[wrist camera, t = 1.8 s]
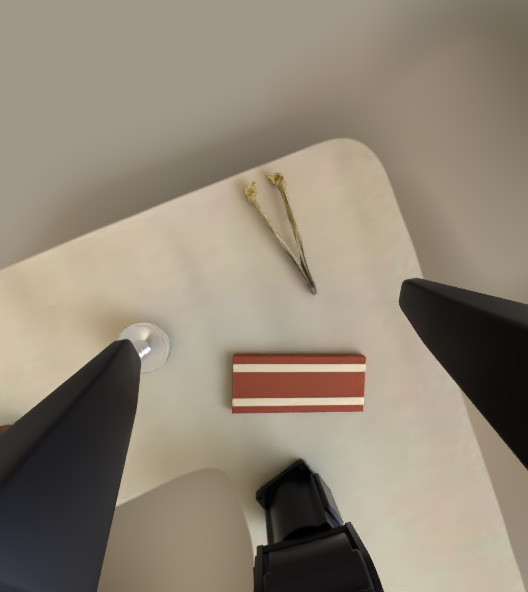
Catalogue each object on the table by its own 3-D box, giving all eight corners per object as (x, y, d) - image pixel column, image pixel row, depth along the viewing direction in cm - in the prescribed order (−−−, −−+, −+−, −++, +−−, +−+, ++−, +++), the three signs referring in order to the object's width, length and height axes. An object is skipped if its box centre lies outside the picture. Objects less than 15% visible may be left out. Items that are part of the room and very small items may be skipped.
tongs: (304, 300, 27) (309, 301, 25) (241, 193, 26) (240, 185, 24) (338, 280, 27) (345, 279, 25) (275, 172, 26) (277, 163, 24)
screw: (147, 375, 26) (116, 338, 26) (184, 346, 26) (154, 309, 26) (52, 468, 13) (-13, 397, 13) (127, 411, 13) (65, 339, 13)
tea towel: (362, 354, 28) (366, 356, 27) (359, 407, 28) (363, 411, 27) (233, 354, 27) (233, 356, 26) (232, 409, 27) (232, 413, 26)
